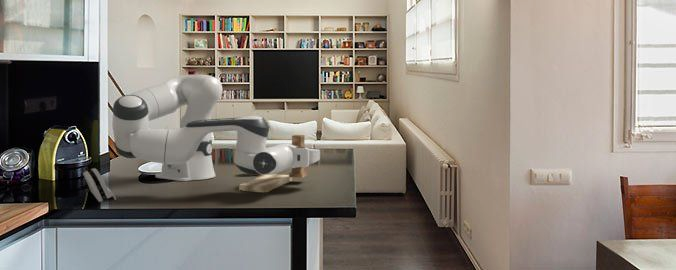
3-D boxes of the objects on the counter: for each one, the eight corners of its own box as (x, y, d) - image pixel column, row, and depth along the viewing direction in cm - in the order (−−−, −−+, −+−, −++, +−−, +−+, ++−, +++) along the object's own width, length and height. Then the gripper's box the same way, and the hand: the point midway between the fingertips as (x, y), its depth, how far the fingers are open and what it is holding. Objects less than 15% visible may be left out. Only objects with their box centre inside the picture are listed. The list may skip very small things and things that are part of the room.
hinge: (116, 199, 157) (103, 170, 154) (101, 206, 155) (87, 177, 152) (107, 189, 171) (95, 163, 168) (93, 196, 169) (80, 169, 166)
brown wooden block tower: (284, 176, 185) (284, 135, 184) (289, 174, 190) (289, 134, 188) (302, 177, 183) (302, 136, 182) (307, 175, 188) (307, 135, 186)
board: (239, 190, 172) (239, 184, 172) (267, 178, 193) (267, 173, 193) (266, 192, 169) (266, 186, 169) (291, 180, 190) (291, 175, 190)
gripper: (256, 163, 176) (273, 158, 190) (311, 167, 170) (325, 161, 184) (256, 145, 176) (273, 141, 189) (311, 148, 170) (325, 144, 183)
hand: (299, 151), depth 186 cm, fingers closed on brown wooden block tower, 3 cm apart
